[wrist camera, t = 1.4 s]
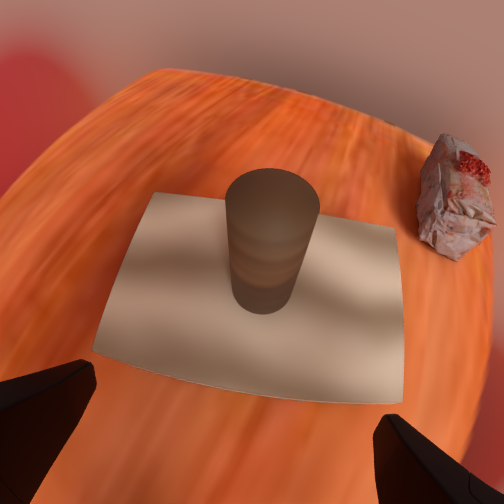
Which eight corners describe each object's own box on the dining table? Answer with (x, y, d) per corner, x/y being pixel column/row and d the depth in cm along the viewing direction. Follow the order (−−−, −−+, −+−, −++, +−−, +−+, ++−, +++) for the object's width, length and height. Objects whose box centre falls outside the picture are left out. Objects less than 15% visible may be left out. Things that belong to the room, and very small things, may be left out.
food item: (463, 275, 25) (517, 221, 17) (405, 250, 27) (453, 184, 18) (456, 193, 32) (489, 141, 24) (409, 171, 33) (436, 112, 25)
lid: (393, 403, 14) (492, 379, 7) (99, 354, 16) (11, 299, 8) (388, 237, 21) (439, 153, 14) (157, 202, 22) (130, 108, 15)
